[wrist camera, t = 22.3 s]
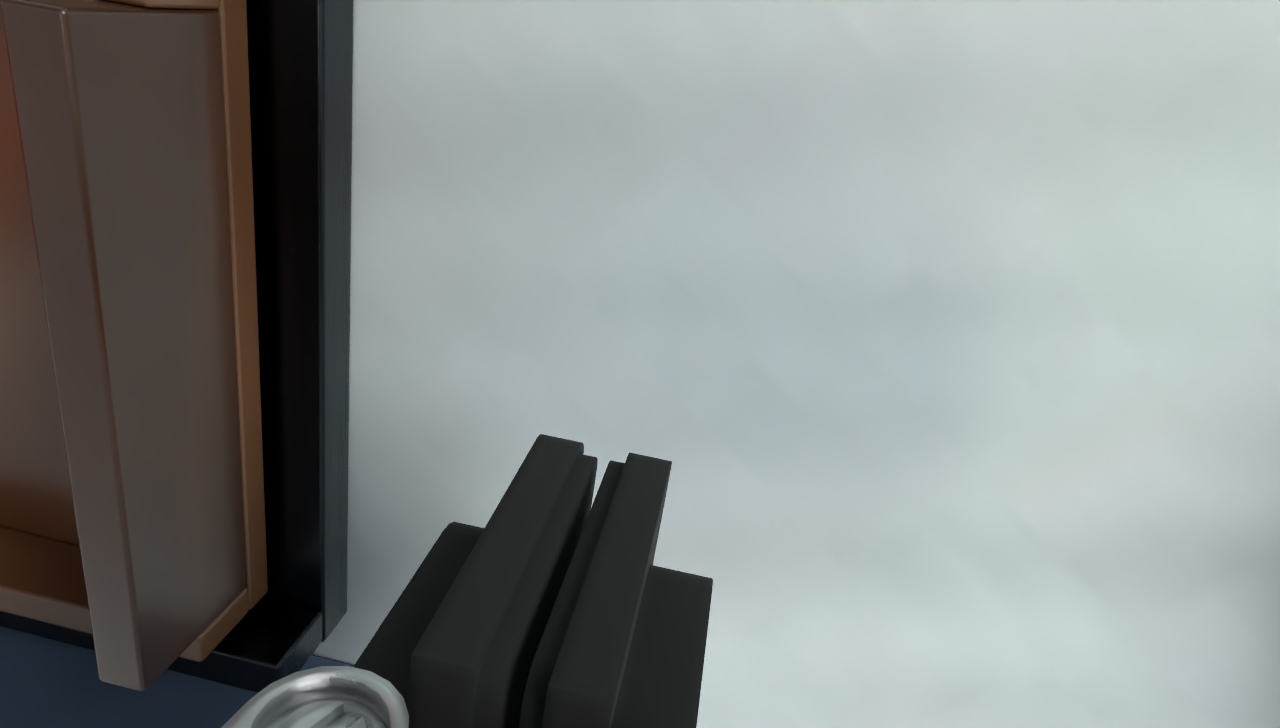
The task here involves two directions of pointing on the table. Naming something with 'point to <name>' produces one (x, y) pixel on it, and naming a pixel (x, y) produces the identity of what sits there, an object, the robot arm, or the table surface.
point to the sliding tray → (129, 328)
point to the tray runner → (293, 340)
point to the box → (104, 691)
